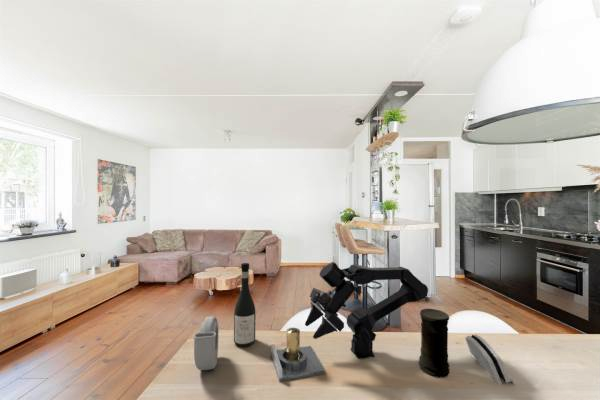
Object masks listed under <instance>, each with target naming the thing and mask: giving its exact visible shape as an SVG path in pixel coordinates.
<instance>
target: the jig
mask: <svg viewBox="0 0 600 400" xmlns="http://www.w3.org/2000/svg"><path fill="white" fill-rule="evenodd" d="M270 350H271V352H270V354H271V355H270V356H271V358H272V363H273V365H274V369H275V371H276V375H277V380H278V382H283V381H289V380H291V381H292V380H296V379H302V378H306V377H308V378H309V377H314V376H320V375H325V374H326V371H325V369H324V367H323V365H322V363H321V362H320V360H319V358H318V357H317V355H316V353H315V351H314V349H313V347H312V346H311V345H307V346H300V359H299V360H295V361H290V360H286V348H285V347H284V349H278V350H277V349H276V346H275V344H274V343H273V344H272V343H271V344H270Z"/></svg>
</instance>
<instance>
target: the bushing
mask: <svg viewBox="0 0 600 400" xmlns="http://www.w3.org/2000/svg"><path fill="white" fill-rule="evenodd" d="M300 347H301V330H300V329H299V328H298V327H288V328H287V329H286V360H290V361H295V360H299V359H300Z"/></svg>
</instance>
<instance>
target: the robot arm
mask: <svg viewBox="0 0 600 400" xmlns="http://www.w3.org/2000/svg"><path fill="white" fill-rule="evenodd" d="M319 277H320V278H321V279H322V280H323V281H324V282H325V283H327V285H329V287H330V288H333V289H332V290H328V291H327V292H325V291H323V290H320V289H317V288H315V287H313V288H312V289H311V293H310V295H309V298H310V307H311V309H310V312H309V314H308V316H307V318H306V320H305V322H304V326H306V327H308V326H310V325H312V324H313V323H314V322H316V321H317V320H319V319H320V318H321V323H320V325H319V326H318V328H317V329H316V331H315V332H314V334H313V335H312V338H313V339H314V340H317V339H319V338H321V337H324V336H325V335H328V334H331V333H335V332H342V330H344V327H345V322H344V321H343V320H342V319H341V318H340V317H339V314H338V312H339V311H340V310H341V309H342V307H343V309H344V308H346V307H347V305H346V303H347V301H348V300H349V298H351V296H352V295H353V294H354V293H356V295H358V296H360V295H361V290H360V288H361V287H360V286H362V285H367V284H370V283H372V282H374V281H385V280H386V281H387V280H388V281H391V280H399V282H400V283H401V286H400V288H399V290H398V291H396V292H394V293H392V294H391V295H389V296H388V297H386V298H384V299H382V300H381V301H378V303H376V304H374V305H372V306H371V307H370V308H368V309H364V308H363V307H362V306H359V307H356V309H354V310H352V311H351V310H350V313H349V314H348V315H347V317H346V325H347V327H348V328H349V329H350V330H351V332H352V333H353V334H352V339H351V340H350V341H351V343H350V344H351V347H350V351H351V352H352V354H354V355H355V357H356V358H357V359H359V360H362V359H368V358H375V356H376V355H375V352H373V346H374V345H373V342H375V339H376V337H377V334H376V333H375V332H374V331H373V329H374V327H375V325H376V323H377V322H378V321H380V320H381V319H383V318H385V317H386V316H388V315H390V314H391V313H393V312H395V311H396V310H398V309H399V308H401V307H404V305H406V304H408V303H414V302H415V303H416V302H419V301H422V300H425V299H426V298H427V297H428V294H429V288H428V286H427V285H426V284H425V283H424V282H422V281H421V280H419V278H418V277H417V276H415V275H414V274H413V273H412V272H411V271H410V269H408V268H406V267H403V266H398V267H396V266H395V267H369V266H365V265H360V264H351V265H350V266H349V267H346V268H342V269H341V268H340V267H339V265H338V264H337V263H336V262H334V261H331V262H330V263H328V264H326V265H325V266H322V269H321V270H320V272H319ZM346 279H347V280H346ZM354 283H355V284H354ZM359 285H360V286H359Z"/></svg>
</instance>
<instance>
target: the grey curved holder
mask: <svg viewBox="0 0 600 400" xmlns="http://www.w3.org/2000/svg"><path fill="white" fill-rule="evenodd" d="M200 326H201V327H200V331H199V332H197V333H194V335H193V339H194V340H193V341H194V343H193V348H194V349H193V350H194V351H193V352H194V354H193V356H194V363H195V367H196V369H197V370H198V371H208V370H214V369H215V368H216V367H217V361H218V356H219V322H218V319H217V317H216V316H212V315H211V316H206V317H205V318H204V321H202V323H201V325H200Z"/></svg>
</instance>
